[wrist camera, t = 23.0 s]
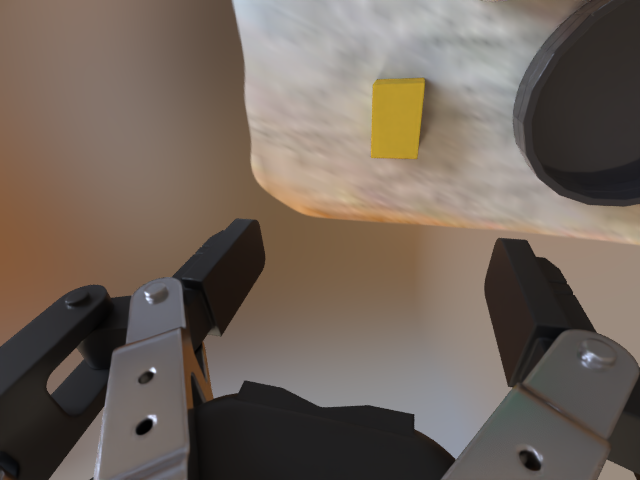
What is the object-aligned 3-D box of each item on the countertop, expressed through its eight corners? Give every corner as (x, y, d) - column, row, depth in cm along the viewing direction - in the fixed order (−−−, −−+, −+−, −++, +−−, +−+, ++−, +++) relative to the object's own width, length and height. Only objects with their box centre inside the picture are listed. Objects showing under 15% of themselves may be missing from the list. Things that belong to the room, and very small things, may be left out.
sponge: (376, 79, 28) (372, 84, 26) (424, 77, 27) (425, 82, 25) (374, 147, 31) (370, 158, 29) (417, 148, 30) (417, 159, 28)
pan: (544, -21, 22) (563, -28, 19) (842, -50, 19) (918, -63, 16) (494, 184, 30) (501, 200, 28) (693, 192, 27) (726, 211, 24)
